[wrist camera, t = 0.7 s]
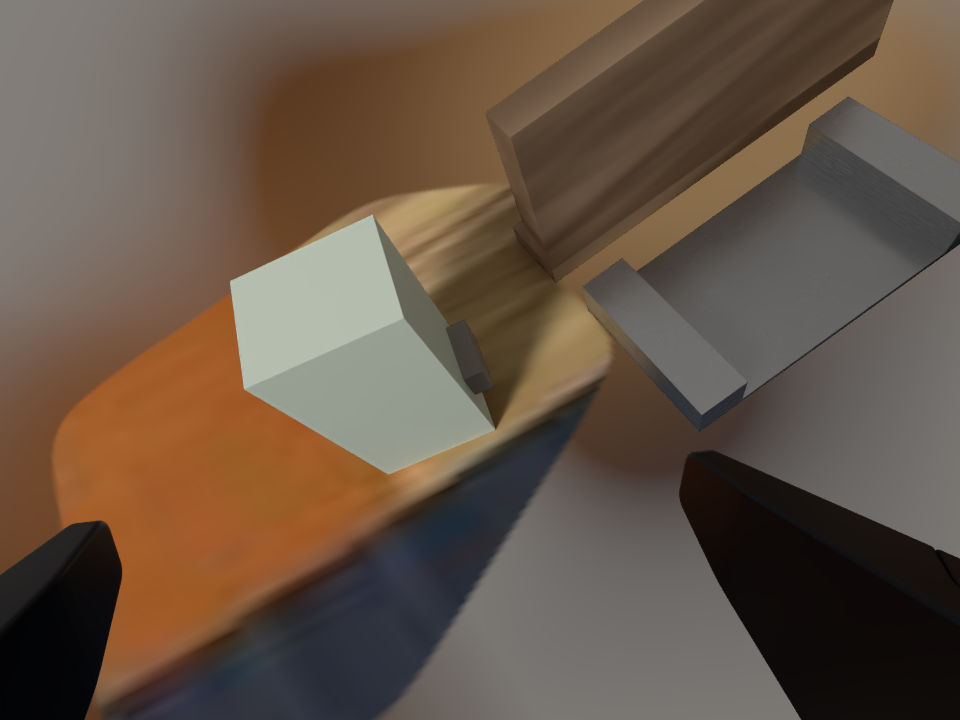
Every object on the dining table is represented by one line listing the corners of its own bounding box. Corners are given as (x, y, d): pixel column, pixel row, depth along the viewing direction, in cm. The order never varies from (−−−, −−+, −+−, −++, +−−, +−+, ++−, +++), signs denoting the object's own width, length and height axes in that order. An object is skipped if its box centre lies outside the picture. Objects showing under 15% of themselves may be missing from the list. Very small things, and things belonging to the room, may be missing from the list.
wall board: (873, 55, 27) (956, -179, 20) (555, 282, 27) (510, 137, 19) (818, 25, 29) (874, -202, 21) (517, 240, 29) (461, 89, 21)
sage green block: (513, 422, 25) (430, 306, 16) (388, 474, 25) (244, 389, 17) (484, 344, 27) (396, 203, 18) (368, 394, 27) (230, 281, 19)
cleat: (983, 226, 23) (1009, 192, 21) (699, 432, 23) (701, 415, 21) (836, 132, 26) (848, 96, 25) (588, 309, 26) (582, 286, 24)
